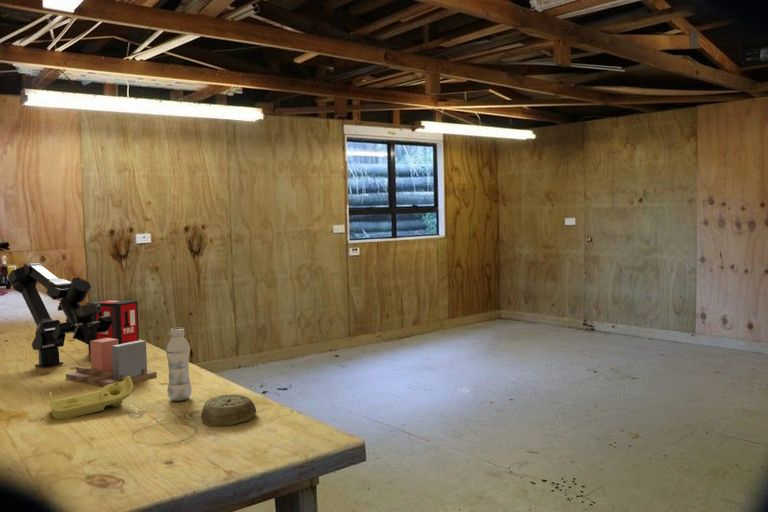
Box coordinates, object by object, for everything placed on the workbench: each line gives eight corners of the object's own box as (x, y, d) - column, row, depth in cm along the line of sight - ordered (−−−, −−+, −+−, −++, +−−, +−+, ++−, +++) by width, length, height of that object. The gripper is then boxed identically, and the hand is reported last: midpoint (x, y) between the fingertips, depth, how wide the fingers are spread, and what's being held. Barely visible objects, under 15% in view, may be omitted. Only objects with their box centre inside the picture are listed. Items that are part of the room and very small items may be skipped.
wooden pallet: (66, 378, 195) (65, 368, 195) (111, 368, 208) (110, 358, 208) (111, 388, 182) (111, 377, 182) (156, 376, 196) (156, 366, 195)
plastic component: (52, 413, 151) (48, 388, 158) (55, 435, 154) (51, 409, 162) (136, 394, 161) (129, 371, 168) (137, 415, 165) (130, 392, 172)
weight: (227, 431, 142) (226, 410, 142) (188, 422, 150) (188, 402, 149) (267, 415, 154) (266, 396, 154) (229, 407, 161) (229, 389, 161)
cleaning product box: (139, 352, 234) (137, 301, 233) (121, 357, 225) (119, 304, 224) (107, 349, 240) (105, 299, 239) (88, 354, 232) (86, 302, 231)
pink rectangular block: (91, 371, 196) (90, 340, 195) (108, 367, 201) (107, 337, 200) (102, 373, 193) (101, 342, 192) (119, 369, 198) (118, 339, 197)
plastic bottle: (169, 404, 164) (166, 331, 163) (166, 398, 170) (163, 328, 169) (194, 401, 167) (191, 329, 166) (189, 395, 173) (187, 326, 172)
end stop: (113, 379, 186) (111, 345, 186) (141, 372, 195) (140, 340, 194) (119, 380, 185) (117, 346, 184) (147, 373, 193) (146, 340, 193)
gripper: (55, 298, 193) (77, 335, 188) (109, 292, 209) (130, 326, 203) (43, 321, 197) (64, 358, 192) (96, 313, 213) (117, 347, 208)
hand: (95, 346), depth 199 cm, fingers closed
